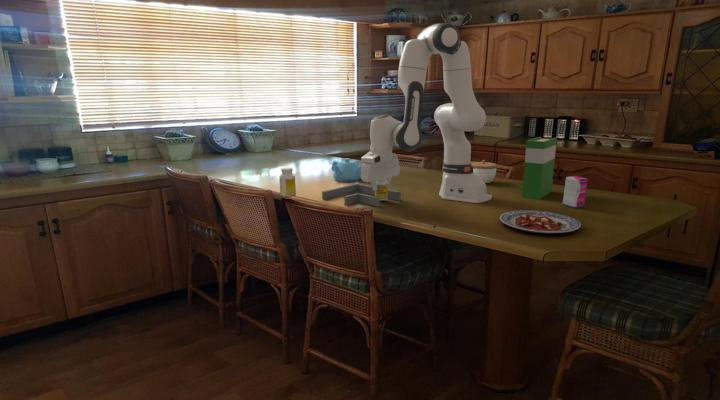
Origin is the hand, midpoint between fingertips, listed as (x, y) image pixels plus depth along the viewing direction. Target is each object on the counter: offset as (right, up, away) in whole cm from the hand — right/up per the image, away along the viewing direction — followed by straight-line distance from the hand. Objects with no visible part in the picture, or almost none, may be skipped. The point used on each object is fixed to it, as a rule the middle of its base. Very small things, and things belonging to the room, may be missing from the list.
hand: (381, 189), depth 194 cm
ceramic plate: (+52, -14, -33) cm, 63 cm away
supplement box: (+76, -7, -7) cm, 76 cm away
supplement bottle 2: (0, -4, +1) cm, 4 cm away
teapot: (-15, +6, +45) cm, 48 cm away
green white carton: (+69, -2, +12) cm, 70 cm away
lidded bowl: (+51, +4, +37) cm, 63 cm away
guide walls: (-8, -4, +4) cm, 10 cm away
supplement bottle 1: (-39, -4, +8) cm, 40 cm away
